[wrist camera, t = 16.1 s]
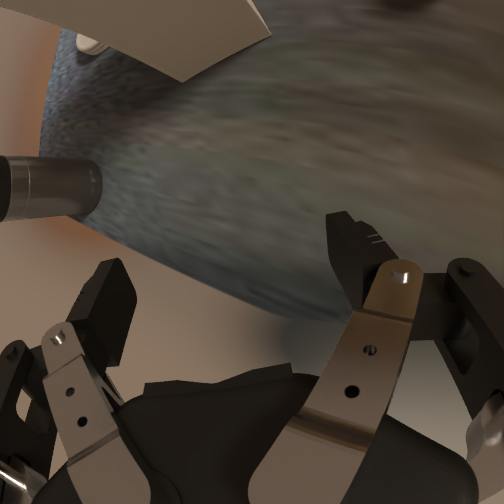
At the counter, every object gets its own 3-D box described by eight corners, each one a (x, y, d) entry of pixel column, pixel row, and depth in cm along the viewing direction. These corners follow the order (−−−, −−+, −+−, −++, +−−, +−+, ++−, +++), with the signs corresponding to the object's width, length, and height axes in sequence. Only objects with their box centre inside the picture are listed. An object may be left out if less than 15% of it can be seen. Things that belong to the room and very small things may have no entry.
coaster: (81, 58, 45) (68, 54, 42) (97, 17, 43) (85, 11, 40) (113, 52, 42) (100, 46, 39) (130, 7, 40) (118, 0, 37)
